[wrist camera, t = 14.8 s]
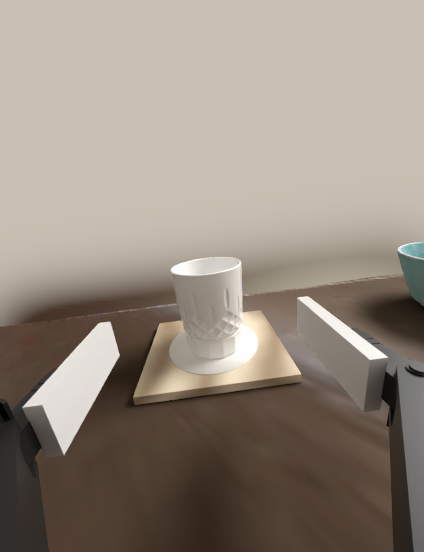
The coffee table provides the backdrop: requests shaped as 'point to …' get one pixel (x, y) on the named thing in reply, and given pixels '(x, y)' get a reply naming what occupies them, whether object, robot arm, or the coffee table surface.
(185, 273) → the white cup
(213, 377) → the coaster board
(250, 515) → the coffee table surface
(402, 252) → the bowl
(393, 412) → the robot arm
